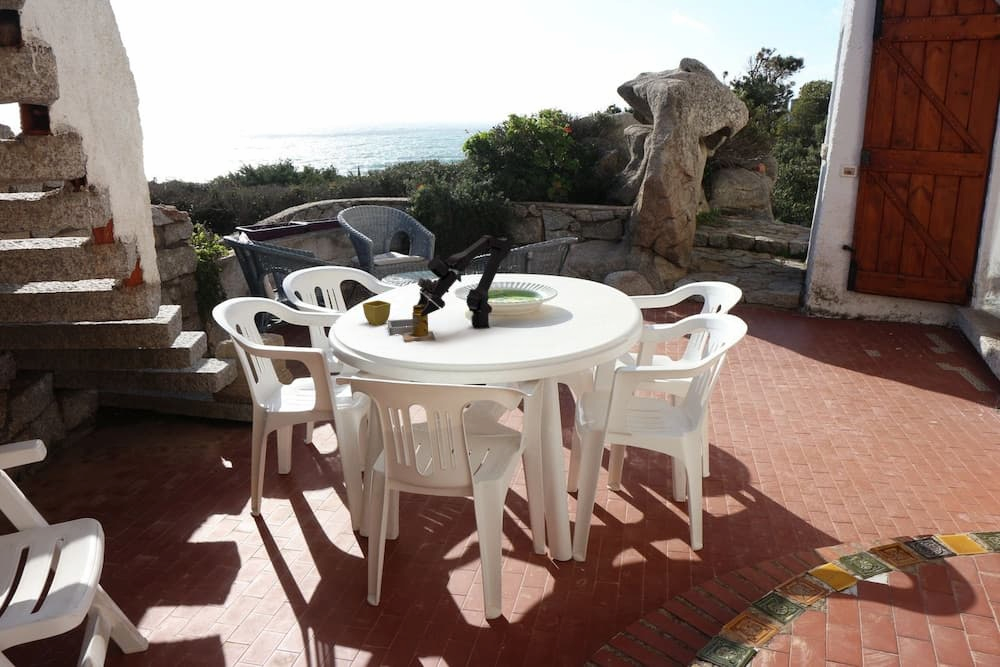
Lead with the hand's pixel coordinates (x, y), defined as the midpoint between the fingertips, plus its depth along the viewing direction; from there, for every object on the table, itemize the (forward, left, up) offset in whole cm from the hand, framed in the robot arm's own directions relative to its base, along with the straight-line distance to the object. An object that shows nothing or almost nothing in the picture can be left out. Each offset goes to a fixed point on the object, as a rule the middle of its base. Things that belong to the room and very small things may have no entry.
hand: (418, 313), depth 289 cm
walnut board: (0, 0, -10) cm, 10 cm away
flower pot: (+15, -27, -10) cm, 33 cm away
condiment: (0, 0, -9) cm, 9 cm away
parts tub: (+4, -13, -10) cm, 17 cm away
